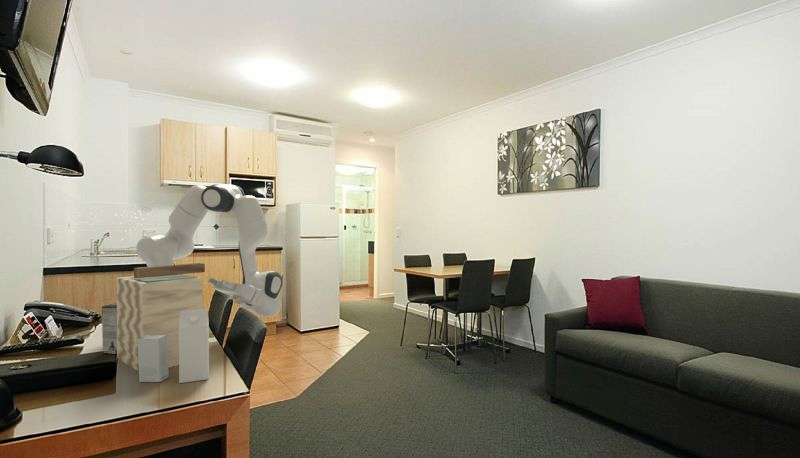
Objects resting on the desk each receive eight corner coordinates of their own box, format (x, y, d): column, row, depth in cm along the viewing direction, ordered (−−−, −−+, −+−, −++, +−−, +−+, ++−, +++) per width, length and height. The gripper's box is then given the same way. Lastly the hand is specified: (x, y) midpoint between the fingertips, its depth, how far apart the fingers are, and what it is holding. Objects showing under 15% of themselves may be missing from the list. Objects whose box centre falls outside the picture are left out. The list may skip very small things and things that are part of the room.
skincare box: (169, 377, 117) (168, 334, 117) (159, 383, 112) (159, 338, 112) (147, 377, 117) (147, 334, 117) (137, 383, 112) (136, 338, 112)
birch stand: (117, 358, 133) (116, 276, 133) (173, 346, 146) (172, 271, 146) (143, 374, 119) (142, 282, 119) (202, 359, 132) (202, 276, 132)
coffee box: (125, 346, 147) (124, 300, 147) (140, 347, 145) (140, 301, 145) (101, 354, 138) (101, 305, 138) (117, 355, 136) (117, 306, 136)
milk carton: (181, 375, 118) (180, 308, 118) (208, 371, 121) (208, 306, 121) (179, 383, 112) (178, 313, 111) (208, 380, 114) (207, 311, 114)
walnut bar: (134, 277, 134) (133, 267, 134) (199, 271, 150) (199, 263, 150) (138, 278, 131) (138, 268, 131) (204, 272, 148) (204, 263, 148)
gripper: (235, 285, 170) (206, 270, 161) (263, 290, 157) (234, 275, 148) (227, 299, 168) (198, 285, 158) (256, 306, 155) (225, 291, 145)
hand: (215, 280), depth 153 cm, fingers open, 8 cm apart
